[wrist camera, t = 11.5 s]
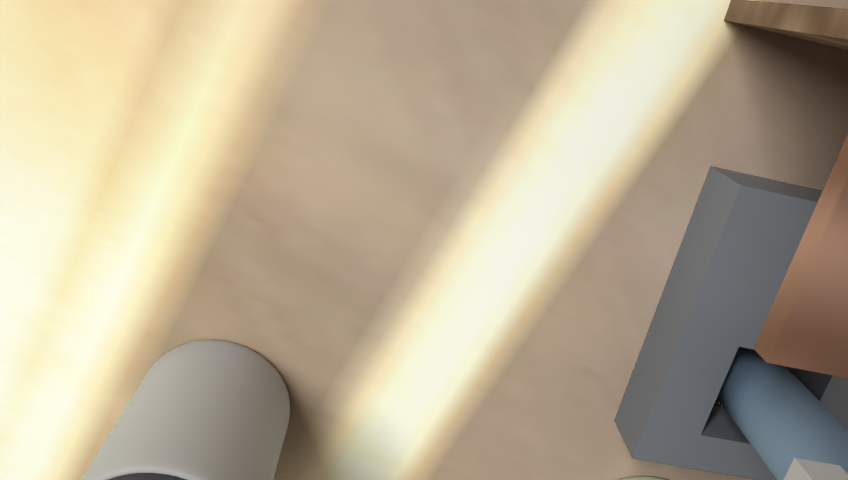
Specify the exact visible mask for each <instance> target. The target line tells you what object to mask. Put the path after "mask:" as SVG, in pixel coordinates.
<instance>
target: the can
mask: <svg viewBox="0 0 848 480" xmlns="http://www.w3.org/2000/svg"><path fill="white" fill-rule="evenodd" d="M620 480H667V479H663V478H658V477H650V476H639V477H630V478H624V479H620Z"/></svg>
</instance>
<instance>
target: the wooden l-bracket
mask: <svg viewBox="0 0 848 480" xmlns="http://www.w3.org/2000/svg"><path fill="white" fill-rule="evenodd" d="M724 20H725V21H729V22H733V23H737V24H741V25H745V26H749V27H753V28H757V29H761V30H765V31H769V32H773V33H777V34H781V35H786V36H790V37H794V38H798V39H802V40H806V41H810V42H814V43H818V44H822V45H826V46H830V47H834V48H838V49H842V50H846V51H848V9H841V8H830V7H818V6H806V5H795V4H783V3H772V2H760V1H749V0H731V2H730V5H729V8H728V11H727V14H726V16H725V19H724ZM753 349H754V350H755V351H756V352H757V353H758V354H759V355H760V356H761V357H762V358H763V359H764V360H765V361H766V363H771V364H776V365H782V366H787V367H792V368H797V369H802V370H807V371H813V372H818V373H823V374H828V375H833V376H839V377H844V378H848V135H847V137H846V139H845V141H844V144H843V146H842V148H841V150H840V153H839V155H838V157H837V160H836V162H835V164H834V166H833V169H832V171H831V173H830V175H829V178H828V180H827V182H826V185H825V187H824V189H823V191H822V194H821V196H820V198H819V200H818V203H817V205H816V207H815V209H814V212H813V214H812V216H811V219H810V221H809V223H808V225H807V228H806V230H805V232H804V234H803V237H802V239H801V241H800V244H799V246H798V248H797V250H796V253H795V255H794V257H793V259H792V262H791V264H790V266H789V269H788V271H787V273H786V275H785V278H784V280H783V282H782V284H781V287H780V289H779V291H778V293H777V296H776V298H775V300H774V303H773V305H772V307H771V309H770V312H769V314H768V316H767V318H766V321H765V323H764V325H763V328H762V330H761V332H760V334H759V337H758V339H757V341H756V343H755V346H754V348H753Z"/></svg>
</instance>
